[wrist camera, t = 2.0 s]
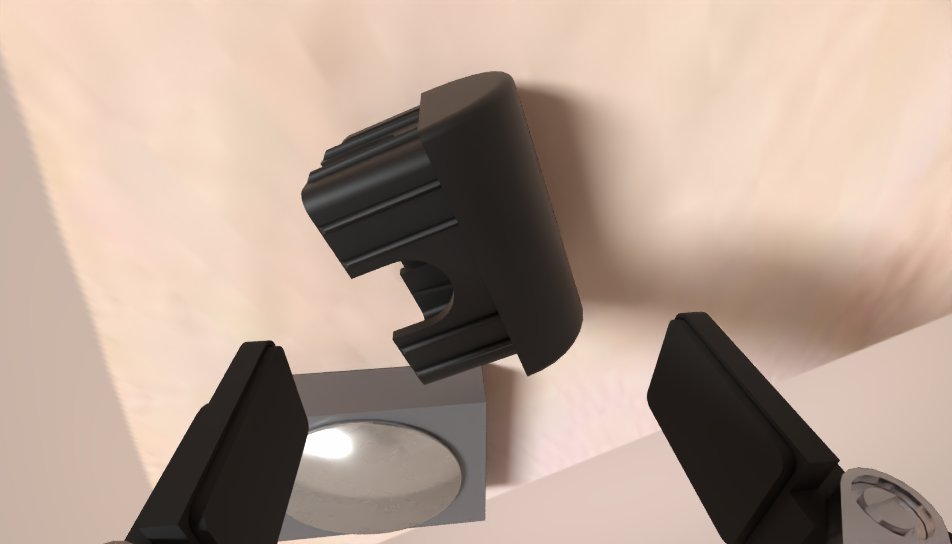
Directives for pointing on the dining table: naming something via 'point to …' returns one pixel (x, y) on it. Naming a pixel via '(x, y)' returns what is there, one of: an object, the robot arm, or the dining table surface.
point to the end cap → (455, 227)
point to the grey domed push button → (388, 453)
